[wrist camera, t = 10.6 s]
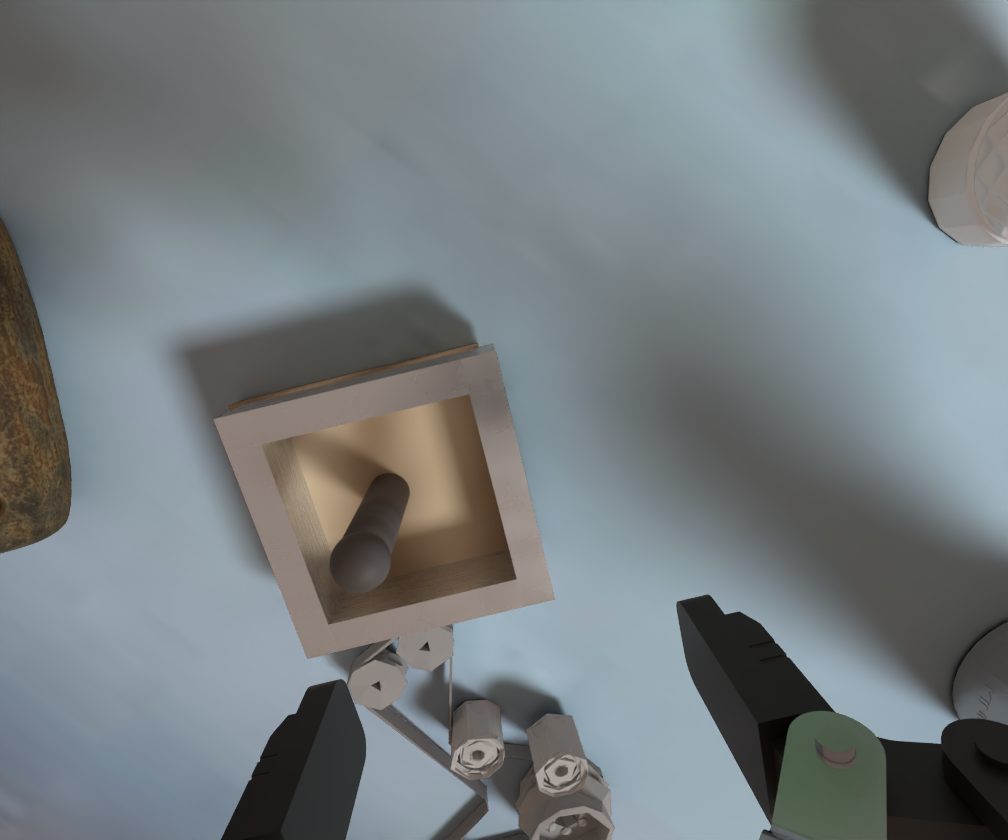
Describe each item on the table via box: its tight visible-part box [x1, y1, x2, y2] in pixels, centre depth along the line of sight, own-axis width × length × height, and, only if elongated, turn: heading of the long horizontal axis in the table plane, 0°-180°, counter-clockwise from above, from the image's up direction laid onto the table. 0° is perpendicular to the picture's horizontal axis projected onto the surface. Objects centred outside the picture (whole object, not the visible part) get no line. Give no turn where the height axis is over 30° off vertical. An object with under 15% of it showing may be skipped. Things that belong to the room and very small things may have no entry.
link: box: [213, 344, 555, 659], centre depth 24 cm, size 12×12×3 cm
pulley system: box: [347, 624, 615, 840], centre depth 31 cm, size 27×5×15 cm
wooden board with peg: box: [229, 343, 509, 593], centre depth 23 cm, size 12×12×9 cm
